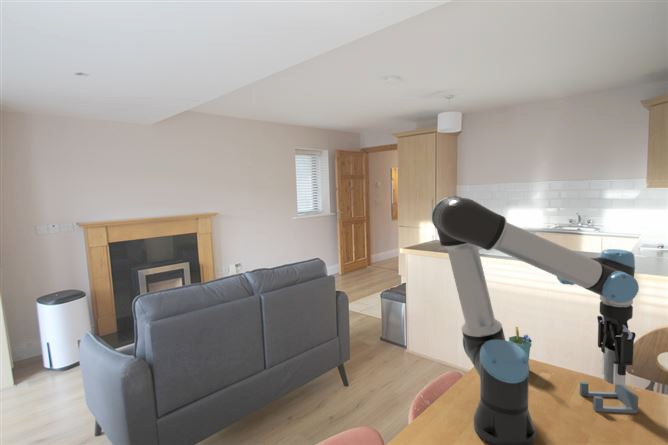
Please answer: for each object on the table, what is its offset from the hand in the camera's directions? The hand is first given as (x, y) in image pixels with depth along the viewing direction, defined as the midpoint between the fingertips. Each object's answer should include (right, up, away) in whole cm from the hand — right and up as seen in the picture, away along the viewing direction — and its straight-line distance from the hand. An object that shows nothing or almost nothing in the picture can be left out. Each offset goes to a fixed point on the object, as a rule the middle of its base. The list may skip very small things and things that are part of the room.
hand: (613, 378), depth 105 cm
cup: (-16, -7, +21) cm, 28 cm away
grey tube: (0, -1, 0) cm, 1 cm away
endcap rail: (-1, -8, +1) cm, 8 cm away
